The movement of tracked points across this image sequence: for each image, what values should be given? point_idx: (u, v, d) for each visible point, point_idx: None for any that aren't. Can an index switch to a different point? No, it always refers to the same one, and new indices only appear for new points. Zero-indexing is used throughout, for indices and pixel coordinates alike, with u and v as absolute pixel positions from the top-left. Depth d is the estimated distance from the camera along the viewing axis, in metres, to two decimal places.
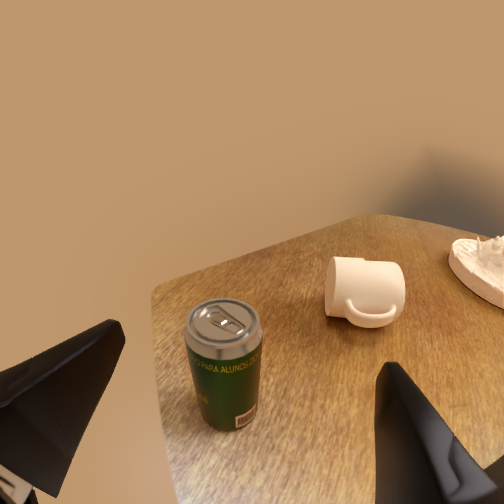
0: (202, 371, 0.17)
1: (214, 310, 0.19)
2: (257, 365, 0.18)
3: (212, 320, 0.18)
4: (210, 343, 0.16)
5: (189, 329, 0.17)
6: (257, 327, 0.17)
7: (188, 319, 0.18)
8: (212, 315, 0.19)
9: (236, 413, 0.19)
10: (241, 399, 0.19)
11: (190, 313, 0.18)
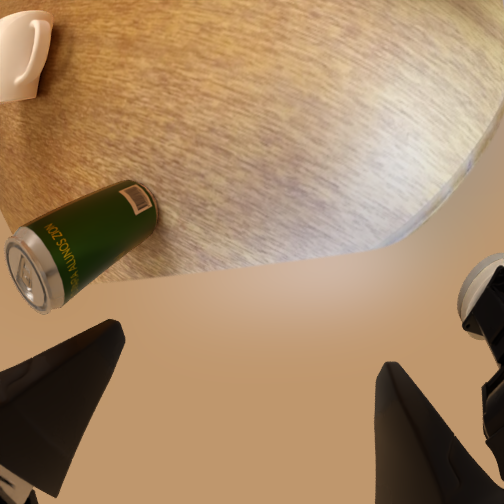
0: (82, 282, 0.14)
1: (21, 281, 0.12)
2: (64, 218, 0.13)
3: (29, 286, 0.12)
4: (47, 296, 0.11)
5: (45, 312, 0.12)
6: (18, 242, 0.10)
7: (38, 310, 0.12)
8: None
9: (130, 217, 0.18)
10: (109, 221, 0.16)
11: (32, 307, 0.12)
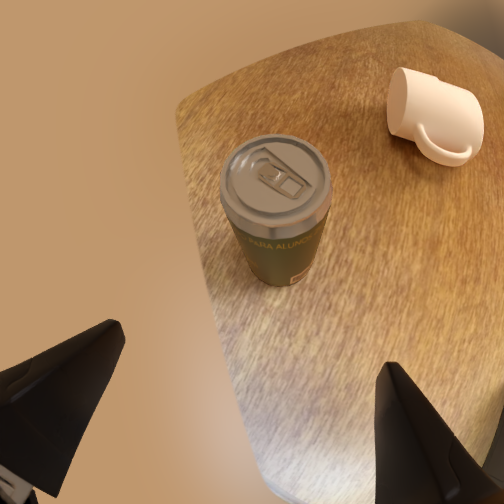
0: (250, 244, 0.14)
1: (260, 156, 0.12)
2: (322, 228, 0.14)
3: (259, 174, 0.12)
4: (260, 220, 0.11)
5: (227, 196, 0.12)
6: (328, 187, 0.11)
7: (223, 177, 0.12)
8: (258, 164, 0.12)
9: (291, 275, 0.19)
10: (299, 264, 0.17)
11: (225, 166, 0.12)
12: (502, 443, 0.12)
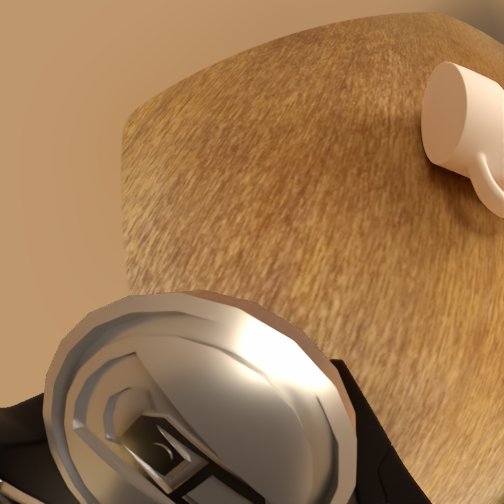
0: None
1: (129, 380, 0.03)
2: None
3: (127, 450, 0.03)
4: None
5: (66, 477, 0.03)
6: None
7: (50, 426, 0.03)
8: (128, 399, 0.03)
9: None
10: None
11: (48, 396, 0.03)
12: None
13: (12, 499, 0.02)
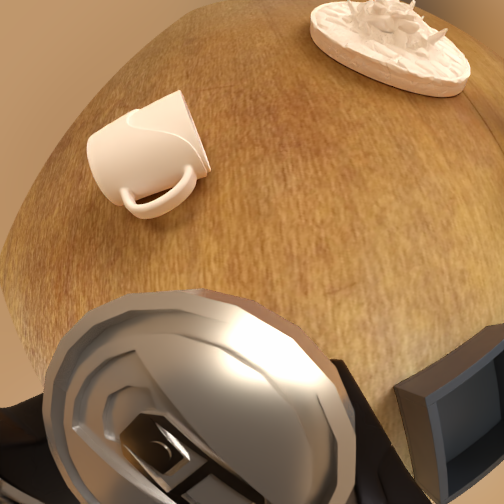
0: None
1: (128, 378, 0.03)
2: None
3: (125, 448, 0.03)
4: None
5: (65, 476, 0.03)
6: None
7: (50, 425, 0.03)
8: (127, 398, 0.03)
9: None
10: None
11: (47, 395, 0.03)
12: (416, 456, 0.14)
13: (12, 499, 0.02)
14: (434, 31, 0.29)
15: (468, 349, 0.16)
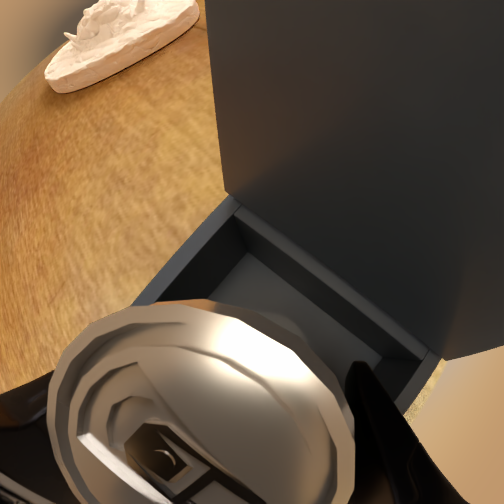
0: None
1: (131, 389, 0.03)
2: None
3: (130, 457, 0.03)
4: None
5: (71, 483, 0.03)
6: None
7: (54, 434, 0.03)
8: (130, 407, 0.03)
9: None
10: None
11: (51, 405, 0.03)
12: None
13: None
14: None
15: None
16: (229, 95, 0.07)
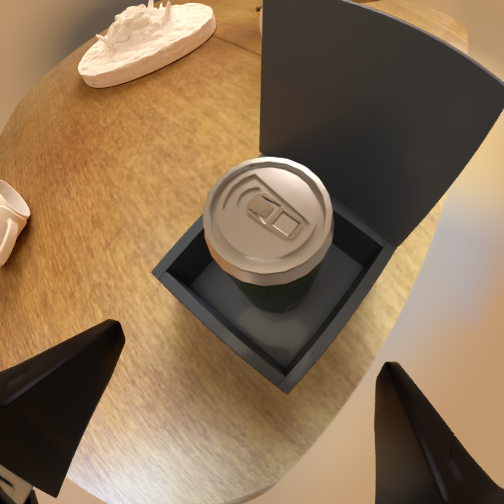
0: (241, 285, 0.12)
1: (250, 185, 0.11)
2: (321, 263, 0.13)
3: (248, 209, 0.10)
4: (249, 267, 0.10)
5: (210, 237, 0.10)
6: (329, 225, 0.10)
7: (207, 213, 0.10)
8: (247, 195, 0.11)
9: (288, 305, 0.17)
10: (295, 297, 0.15)
11: (209, 199, 0.11)
12: None
13: None
14: (184, 5, 0.38)
15: None
16: (269, 98, 0.14)
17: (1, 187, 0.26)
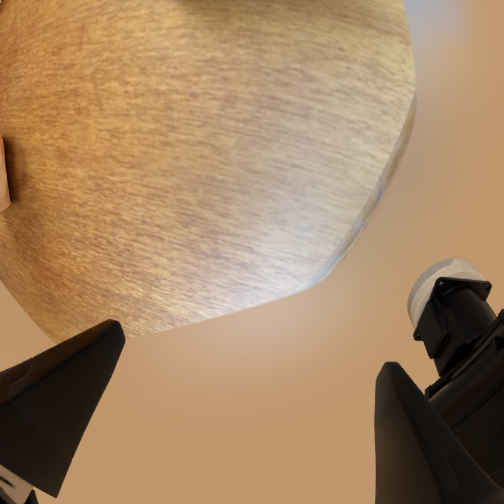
0: None
1: None
2: None
3: None
4: None
5: None
6: None
7: None
8: None
9: None
10: None
11: None
12: None
13: None
14: None
15: None
16: None
17: None
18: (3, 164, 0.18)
